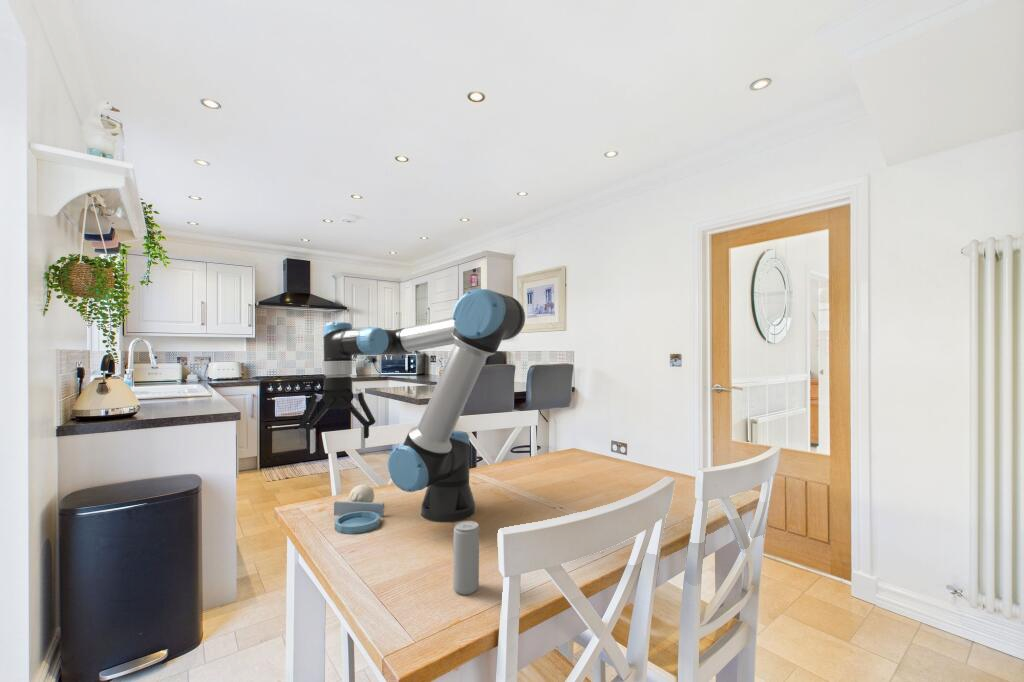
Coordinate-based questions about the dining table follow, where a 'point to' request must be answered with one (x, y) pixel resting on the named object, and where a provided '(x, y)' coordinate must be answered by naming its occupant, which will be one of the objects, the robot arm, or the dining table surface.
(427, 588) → the dining table surface
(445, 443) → the robot arm
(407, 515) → the dining table surface
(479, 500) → the dining table surface
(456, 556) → the beverage can
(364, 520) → the saucer
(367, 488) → the cream creased ball
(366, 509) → the panel
